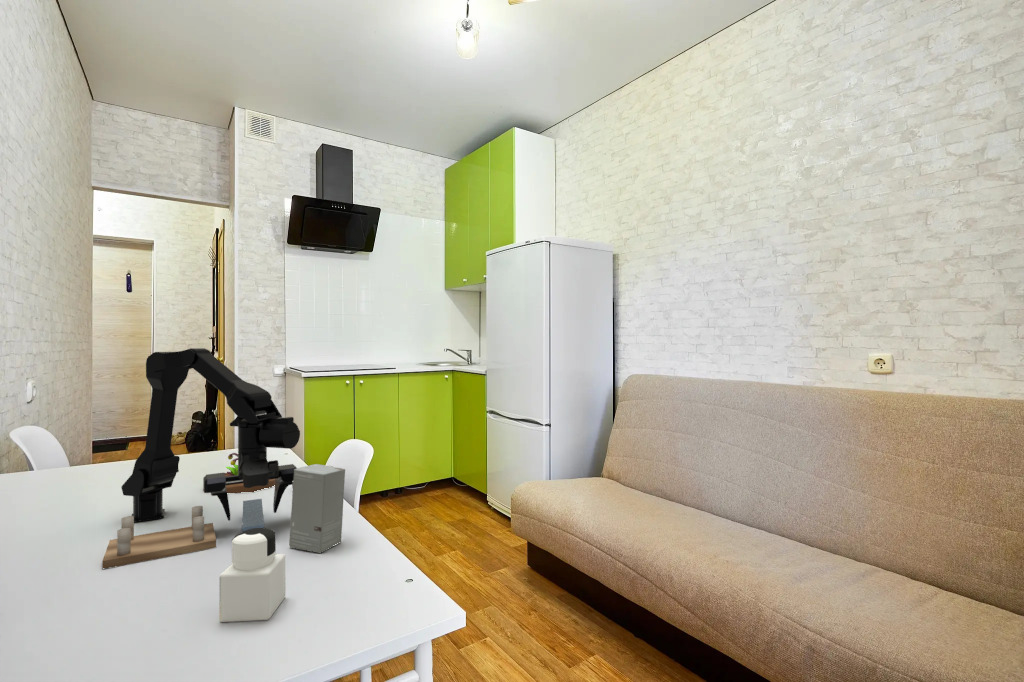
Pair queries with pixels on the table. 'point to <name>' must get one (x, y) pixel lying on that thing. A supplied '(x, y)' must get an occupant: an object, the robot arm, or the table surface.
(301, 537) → the skincare box
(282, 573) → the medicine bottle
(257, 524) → the steel bar
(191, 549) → the peg rack
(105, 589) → the table surface
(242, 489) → the plant
